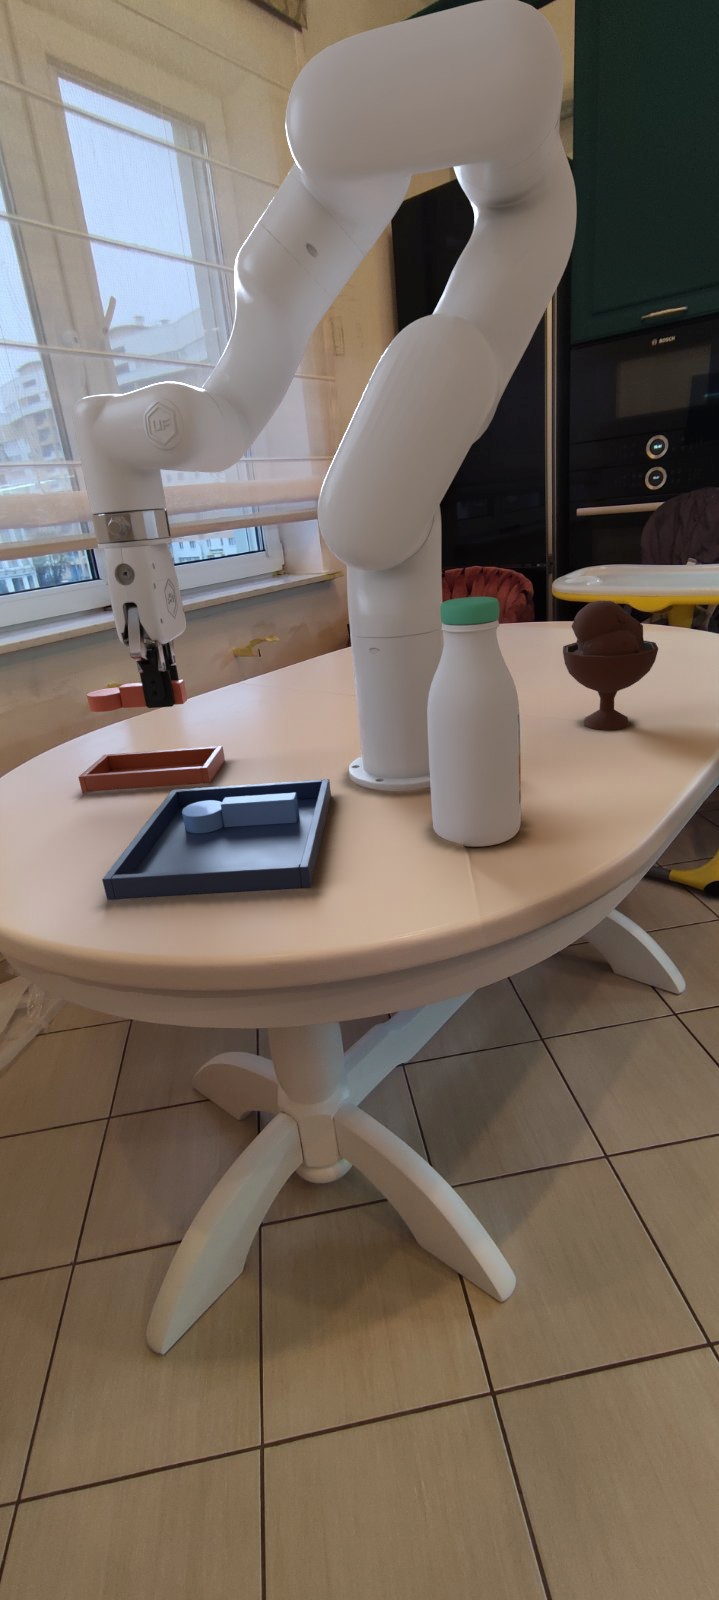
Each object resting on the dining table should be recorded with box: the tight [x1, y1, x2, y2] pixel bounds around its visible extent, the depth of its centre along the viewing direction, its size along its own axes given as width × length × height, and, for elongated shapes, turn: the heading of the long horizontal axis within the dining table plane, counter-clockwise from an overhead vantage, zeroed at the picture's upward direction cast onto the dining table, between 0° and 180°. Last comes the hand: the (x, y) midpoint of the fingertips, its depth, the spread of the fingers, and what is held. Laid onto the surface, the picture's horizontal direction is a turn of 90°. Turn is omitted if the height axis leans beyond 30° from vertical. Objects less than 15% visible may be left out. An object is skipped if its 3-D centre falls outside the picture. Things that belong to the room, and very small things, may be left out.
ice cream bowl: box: [562, 600, 659, 731], centre depth 87 cm, size 11×11×15 cm
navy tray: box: [101, 778, 332, 901], centre depth 66 cm, size 16×19×2 cm
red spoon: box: [86, 679, 188, 713], centre depth 82 cm, size 11×4×2 cm, turn 88°
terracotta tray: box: [78, 745, 226, 795], centre depth 85 cm, size 15×8×2 cm, turn 88°
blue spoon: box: [182, 793, 299, 834], centre depth 69 cm, size 11×4×2 cm, turn 88°
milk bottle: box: [427, 596, 522, 848], centre depth 61 cm, size 8×8×20 cm
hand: (164, 702), depth 82 cm, fingers closed on red spoon, 2 cm apart
